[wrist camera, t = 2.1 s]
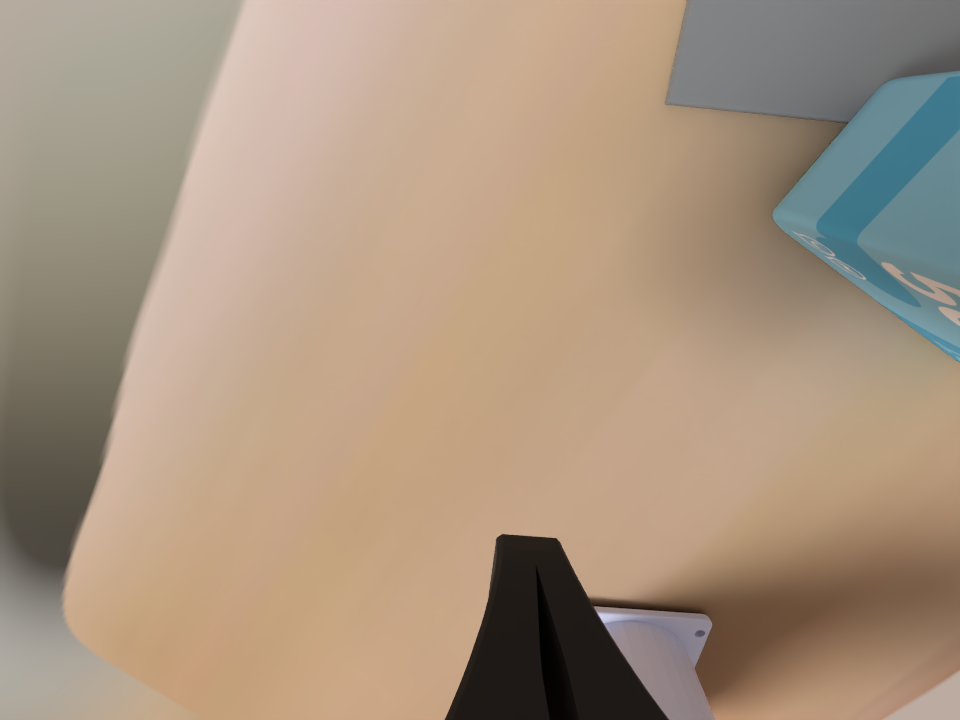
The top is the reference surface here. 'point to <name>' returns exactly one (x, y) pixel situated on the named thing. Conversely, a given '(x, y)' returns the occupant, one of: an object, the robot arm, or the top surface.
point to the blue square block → (892, 204)
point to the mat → (807, 53)
